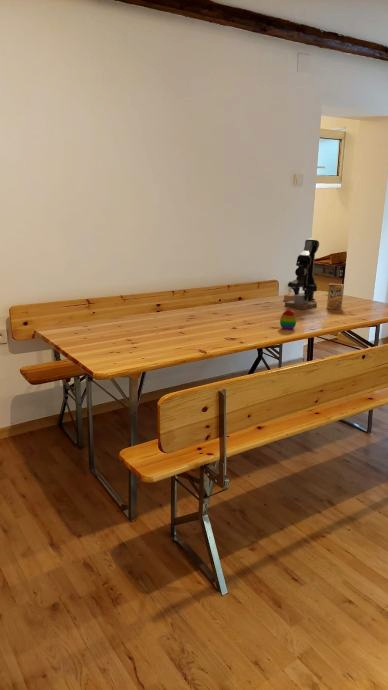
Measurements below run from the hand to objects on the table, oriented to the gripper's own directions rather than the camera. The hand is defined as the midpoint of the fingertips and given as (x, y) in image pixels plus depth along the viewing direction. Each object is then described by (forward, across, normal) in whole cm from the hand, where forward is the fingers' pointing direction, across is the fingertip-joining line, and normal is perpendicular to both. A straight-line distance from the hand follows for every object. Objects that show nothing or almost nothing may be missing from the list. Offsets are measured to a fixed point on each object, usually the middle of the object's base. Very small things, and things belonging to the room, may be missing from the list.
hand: (301, 299), depth 320 cm
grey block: (+2, 0, 0) cm, 2 cm away
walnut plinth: (+4, 0, 0) cm, 4 cm away
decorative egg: (+5, +33, -51) cm, 61 cm away
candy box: (+5, +16, +13) cm, 21 cm away
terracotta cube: (+5, -17, +9) cm, 20 cm away
